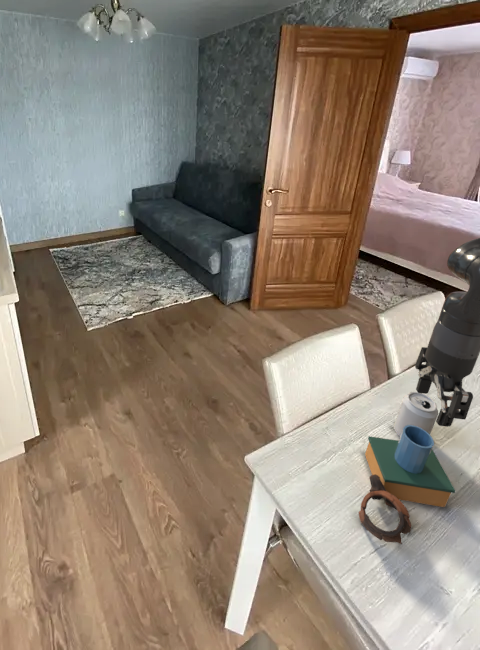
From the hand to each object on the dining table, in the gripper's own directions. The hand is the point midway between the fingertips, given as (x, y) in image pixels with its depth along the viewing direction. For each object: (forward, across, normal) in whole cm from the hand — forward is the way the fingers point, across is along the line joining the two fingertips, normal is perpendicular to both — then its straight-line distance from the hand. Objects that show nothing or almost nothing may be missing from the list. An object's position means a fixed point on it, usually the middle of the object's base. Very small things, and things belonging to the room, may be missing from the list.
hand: (431, 407), depth 72 cm
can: (+22, +12, -6) cm, 26 cm away
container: (+21, -1, +1) cm, 21 cm away
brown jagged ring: (+22, -10, +9) cm, 26 cm away
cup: (+15, -1, +1) cm, 15 cm away
